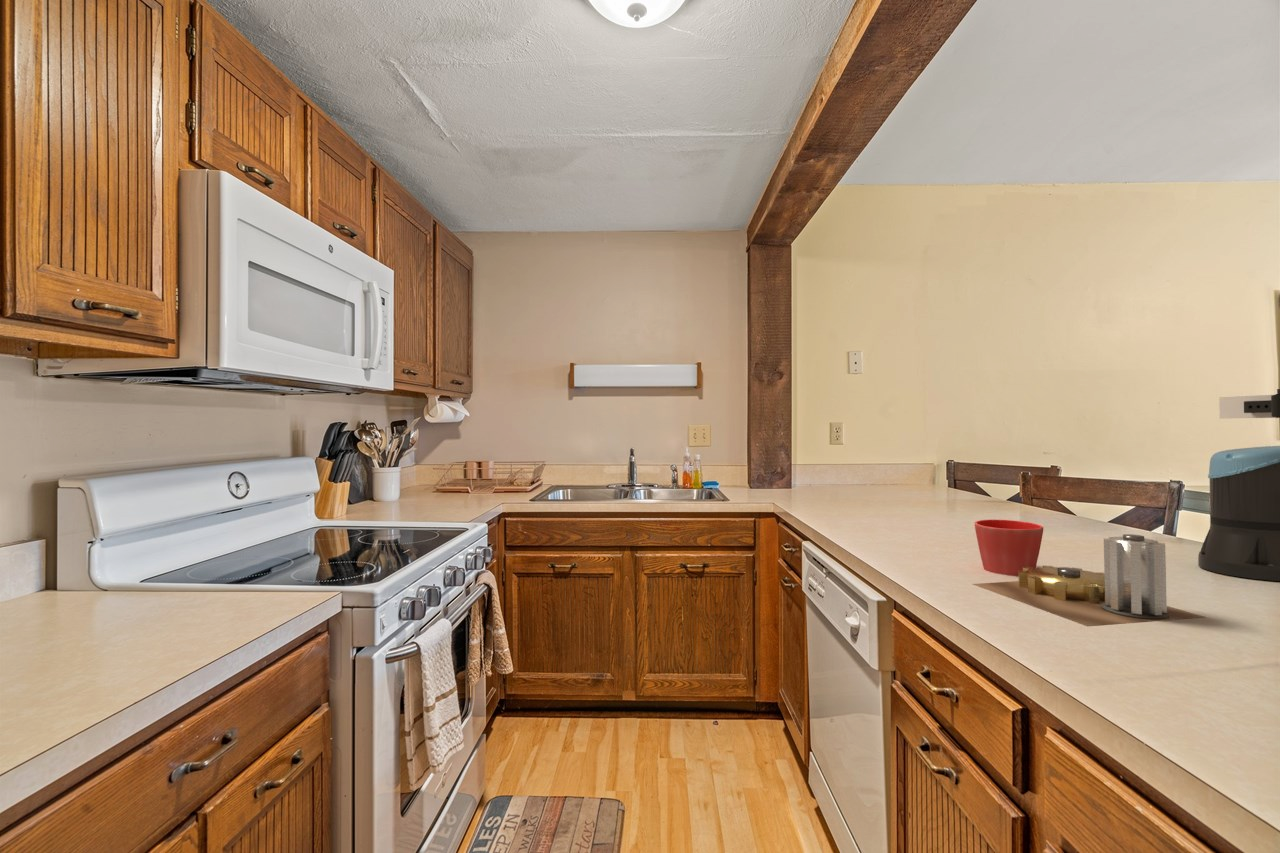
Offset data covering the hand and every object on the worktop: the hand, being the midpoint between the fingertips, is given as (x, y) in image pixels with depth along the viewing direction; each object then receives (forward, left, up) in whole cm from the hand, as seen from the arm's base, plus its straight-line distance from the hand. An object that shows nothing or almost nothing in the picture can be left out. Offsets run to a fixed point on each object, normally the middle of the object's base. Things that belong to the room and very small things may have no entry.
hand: (1265, 407), depth 77 cm
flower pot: (+7, -36, -30) cm, 47 cm away
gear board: (+10, -18, -30) cm, 36 cm away
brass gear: (+8, -22, -29) cm, 37 cm away
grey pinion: (+8, -11, -29) cm, 32 cm away
